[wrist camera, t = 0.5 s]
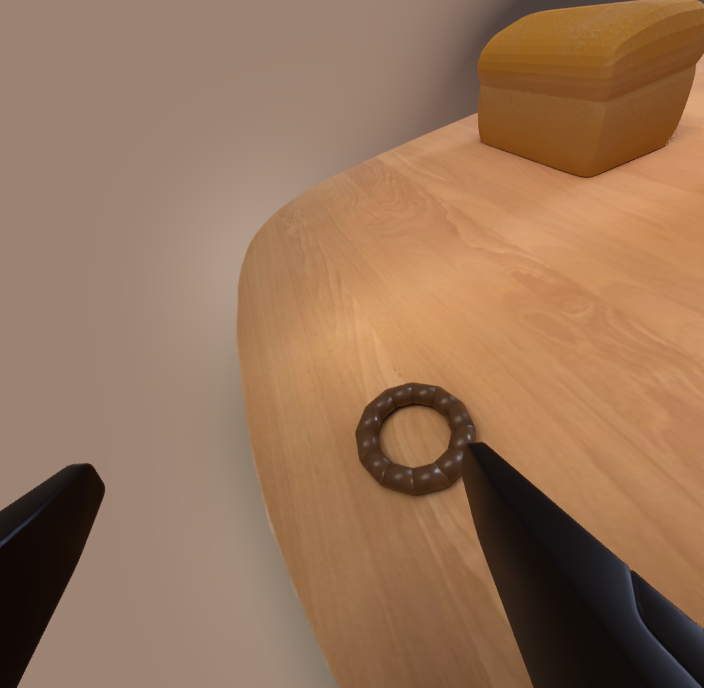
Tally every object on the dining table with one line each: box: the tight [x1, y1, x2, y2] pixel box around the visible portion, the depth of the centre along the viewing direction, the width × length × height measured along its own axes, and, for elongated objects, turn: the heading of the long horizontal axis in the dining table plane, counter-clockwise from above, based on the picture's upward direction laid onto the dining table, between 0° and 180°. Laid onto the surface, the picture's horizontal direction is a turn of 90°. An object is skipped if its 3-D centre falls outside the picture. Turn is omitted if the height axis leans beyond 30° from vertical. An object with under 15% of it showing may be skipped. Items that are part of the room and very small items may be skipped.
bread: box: [478, 0, 704, 177], centre depth 46 cm, size 24×13×15 cm, turn 18°
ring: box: [355, 383, 476, 495], centre depth 25 cm, size 8×8×2 cm
